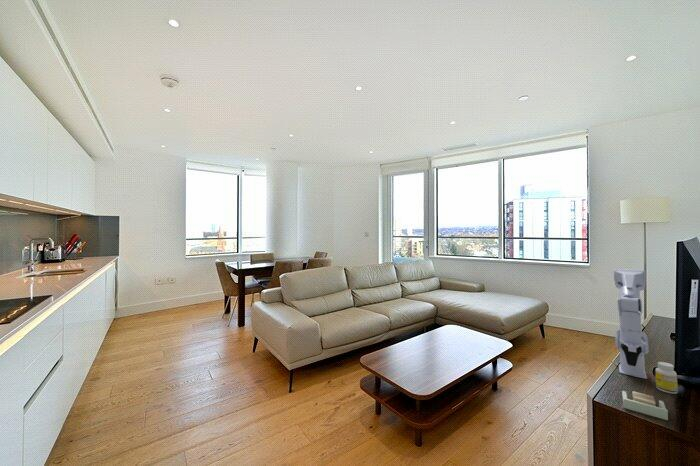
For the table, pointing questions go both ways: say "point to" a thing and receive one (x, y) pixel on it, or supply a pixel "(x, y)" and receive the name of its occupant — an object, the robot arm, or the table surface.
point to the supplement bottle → (666, 378)
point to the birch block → (643, 398)
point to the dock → (645, 407)
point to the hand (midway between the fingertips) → (631, 365)
